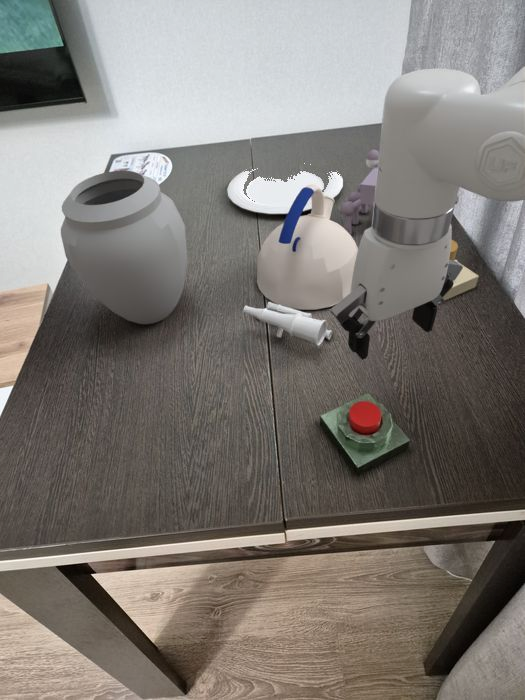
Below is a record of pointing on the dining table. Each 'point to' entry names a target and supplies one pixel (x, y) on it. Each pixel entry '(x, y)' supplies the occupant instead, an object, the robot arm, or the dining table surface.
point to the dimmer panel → (462, 282)
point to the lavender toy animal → (361, 193)
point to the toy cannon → (292, 322)
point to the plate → (278, 191)
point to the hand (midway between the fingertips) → (390, 338)
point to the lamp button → (364, 417)
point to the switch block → (363, 437)
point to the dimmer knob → (453, 250)
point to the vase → (126, 244)
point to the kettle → (307, 256)
